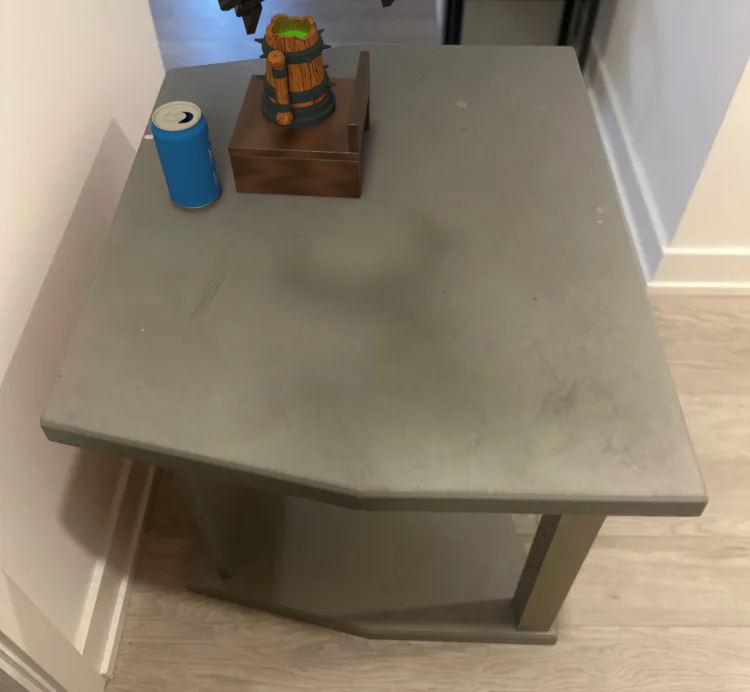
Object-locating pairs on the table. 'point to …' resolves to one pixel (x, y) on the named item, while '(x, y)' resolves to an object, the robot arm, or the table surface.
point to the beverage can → (186, 154)
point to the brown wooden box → (303, 144)
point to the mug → (295, 73)
